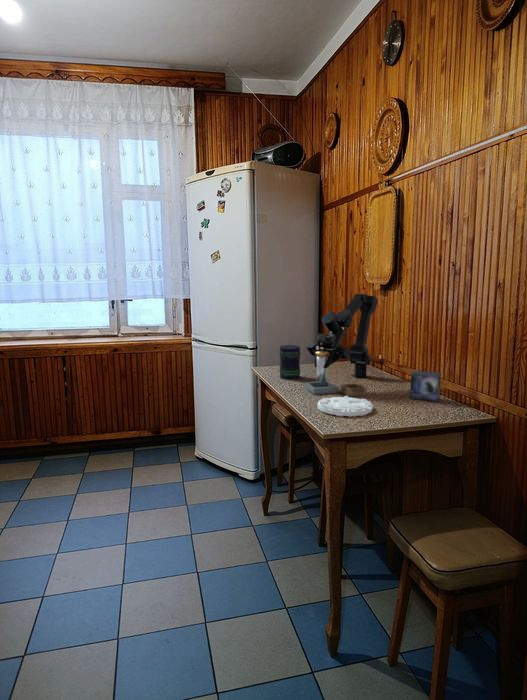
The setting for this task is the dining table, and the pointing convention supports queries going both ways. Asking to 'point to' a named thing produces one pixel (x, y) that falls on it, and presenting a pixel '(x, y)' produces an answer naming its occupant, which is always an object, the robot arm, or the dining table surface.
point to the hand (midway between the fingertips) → (320, 367)
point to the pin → (321, 366)
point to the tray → (321, 388)
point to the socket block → (353, 389)
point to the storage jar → (289, 362)
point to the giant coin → (345, 406)
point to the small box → (425, 386)
